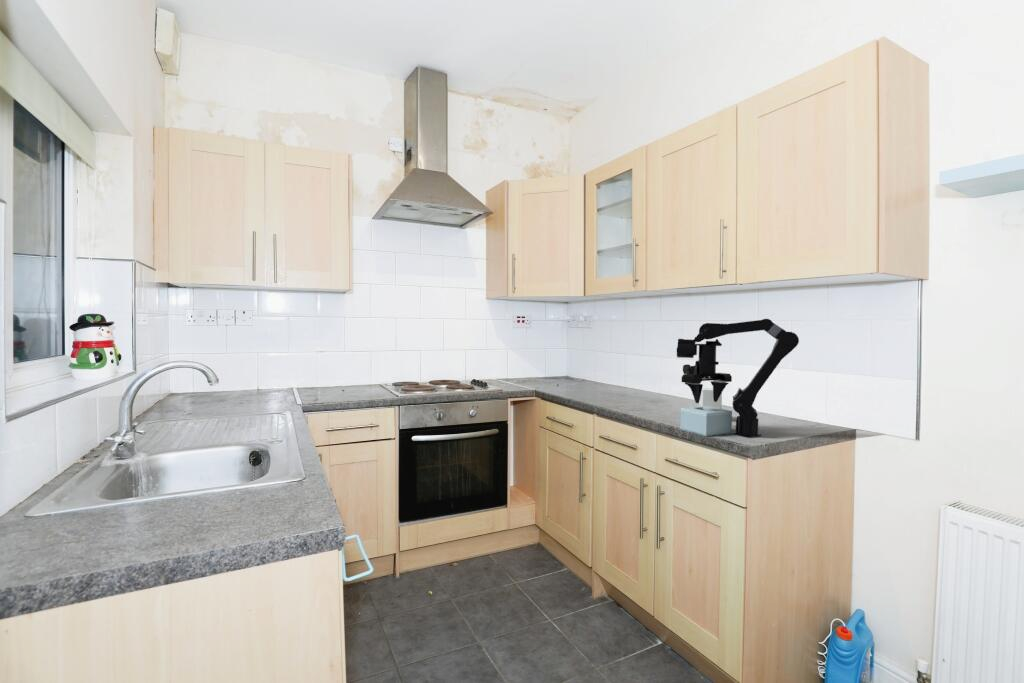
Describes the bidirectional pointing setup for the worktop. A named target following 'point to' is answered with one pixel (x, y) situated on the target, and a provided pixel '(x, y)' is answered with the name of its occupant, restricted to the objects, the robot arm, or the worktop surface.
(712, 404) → the supplement box
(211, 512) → the worktop surface
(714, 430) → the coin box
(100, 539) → the worktop surface
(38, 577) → the worktop surface
